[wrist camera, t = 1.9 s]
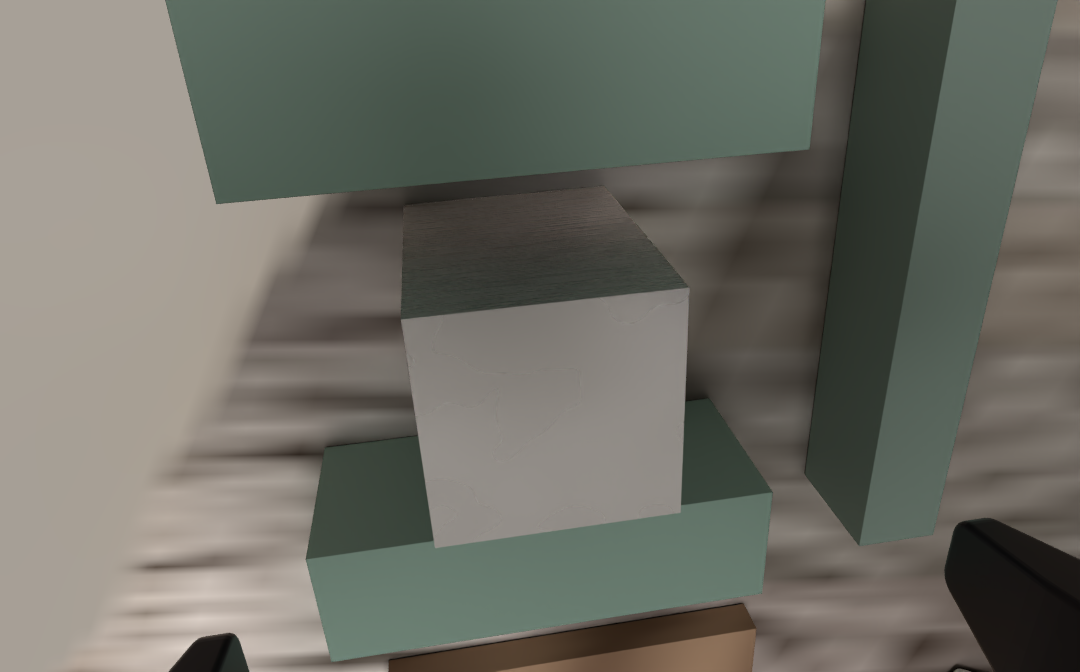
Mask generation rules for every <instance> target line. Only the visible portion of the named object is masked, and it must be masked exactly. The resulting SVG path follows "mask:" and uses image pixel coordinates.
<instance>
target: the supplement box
mask: <svg viewBox="0 0 1080 672" xmlns="http://www.w3.org/2000/svg"><path fill="white" fill-rule="evenodd" d="M954 672H971V671H967V670H964V669H956V670H955V671H954Z"/></svg>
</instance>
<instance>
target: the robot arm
mask: <svg viewBox="0 0 1080 672" xmlns="http://www.w3.org/2000/svg"><path fill="white" fill-rule="evenodd" d="M944 572H945V580H946V584H947V586H948V589H949V591H950V593H951V594H952V596H953V598H954V600H955V602H956V604H957V605H958V607H959V609H960V611H961V613H962V614H963V616H964V618H965V620H966V622H967V623H968V625H969V627H970V629H971V631H972V633H973V634H974V636H975V638H976V640H977V642H978V643H979V645H980V647H981V649H982V651H983V652H984V654H985V656H986V658H987V660H988V662H989V663H990V665H991V667H992V669H993V671H994V672H1080V559H1078V558H1076V557H1073V556H1071V555H1069V554H1067V553H1065V552H1063V551H1061V550H1059V549H1056V548H1054V547H1052V546H1050V545H1048V544H1046V543H1044V542H1042V541H1040V540H1037V539H1035V538H1033V537H1031V536H1029V535H1027V534H1025V533H1023V532H1020V531H1018V530H1016V529H1014V528H1012V527H1010V526H1008V525H1006V524H1003V523H1001V522H999V521H997V520H995V519H991V518H982V519H975V520H968V521H963V522H960V523H959V524H958V525H957V526H956V527H955V529H954V531H953V536H952V540H951V544H950V548H949V552H948V556H947V560H946V564H945V569H944ZM169 672H249V669H248V666H247V663H246V660H245V657H244V653H243V650H242V647H241V644H240V641H239V639H238V638H237V636H236V635H235V634H233V633H225V634H218V635H212V636H205V637H201V638H199V639H198V640H196V641H195V642H194V643H193V644H192V645H191V646H190V647H189V648H188V649H187V651H186V652H185V653H184V654H183V655H182V657H181V658H180V659H179V660H178V661H177V662H176V664H175V665H174V666H173V667H172V668H171V669H170V671H169Z"/></svg>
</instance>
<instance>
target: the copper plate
mask: <svg viewBox="0 0 1080 672" xmlns="http://www.w3.org/2000/svg"><path fill="white" fill-rule="evenodd" d="M755 637H756V627H755V625H754V623H753V621H752V619H751V617H750V615H749V613H748V611H747V609H746V607H745V605H744V604H739V605H733V606H726V607H720V608H714V609H708V610H701V611H695V612H689V613H683V614H676V615H670V616H664V617H658V618H651V619H645V620H639V621H633V622H627V623H620V624H614V625H608V626H602V627H595V628H589V629H583V630H577V631H570V632H564V633H558V634H552V635H545V636H539V637H533V638H527V639H520V640H514V641H508V642H502V643H495V644H489V645H483V646H477V647H471V648H464V649H458V650H452V651H446V652H439V653H433V654H427V655H421V656H414V657H408V658H402V659H396V660H389V672H752V666H753V656H754V647H755Z"/></svg>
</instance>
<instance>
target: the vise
mask: <svg viewBox="0 0 1080 672" xmlns="http://www.w3.org/2000/svg"><path fill="white" fill-rule="evenodd" d="M165 1H166V5H167V9H168V13H169V17H170V21H171V25H172V29H173V33H174V37H175V41H176V45H177V49H178V53H179V57H180V61H181V65H182V69H183V73H184V77H185V81H186V85H187V89H188V93H189V97H190V101H191V105H192V108H193V113H194V116H195V121H196V125H197V128H198V132H199V136H200V140H201V144H202V148H203V152H204V156H205V160H206V164H207V168H208V172H209V176H210V180H211V184H212V188H213V192H214V196H215V200H216V204H222V203H232V202H244V201H255V200H266V199H276V198H287V197H297V196H309V195H320V194H331V193H342V192H352V191H363V190H374V189H385V188H396V187H407V186H417V185H428V184H439V183H450V182H461V181H472V180H482V179H493V178H504V177H515V176H526V175H537V174H548V173H558V172H569V171H580V170H591V169H602V168H613V167H623V166H634V165H645V164H656V163H667V162H678V161H688V160H699V159H710V158H721V157H732V156H743V155H754V154H764V153H775V152H786V151H797V150H808V149H810V139H811V130H812V121H813V111H814V102H815V93H816V83H817V74H818V65H819V55H820V46H821V37H822V27H823V18H824V9H825V0H165ZM1057 1H1058V0H866V7H865V14H864V22H863V30H862V37H861V45H860V53H859V61H858V68H857V76H856V84H855V92H854V99H853V107H852V115H851V122H850V130H849V138H848V146H847V153H846V161H845V169H844V177H843V184H842V192H841V200H840V208H839V215H838V223H837V231H836V238H835V246H834V254H833V262H832V269H831V277H830V285H829V293H828V300H827V308H826V316H825V324H824V331H823V339H822V347H821V354H820V362H819V370H818V378H817V385H816V393H815V401H814V409H813V416H812V424H811V432H810V439H809V447H808V455H807V463H806V470H805V475H806V477H807V478H808V479H809V481H810V482H811V483H812V485H813V486H814V487H815V489H816V490H817V491H818V492H819V494H820V495H821V496H822V498H823V499H824V500H825V502H826V503H827V504H828V506H829V507H830V508H831V510H832V511H833V512H834V514H835V515H836V516H837V518H838V519H839V520H840V521H841V523H842V524H843V525H844V527H845V528H846V529H847V531H848V532H849V533H850V535H851V536H852V537H853V539H854V540H855V541H856V543H857V544H858V545H859V546H863V545H870V544H876V543H883V542H889V541H896V540H902V539H909V538H915V537H922V536H928V535H933V532H934V528H935V524H936V520H937V515H938V511H939V507H940V502H941V498H942V494H943V490H944V485H945V481H946V477H947V472H948V468H949V464H950V460H951V455H952V451H953V447H954V442H955V438H956V434H957V430H958V425H959V421H960V417H961V412H962V408H963V404H964V399H965V395H966V391H967V387H968V382H969V378H970V374H971V369H972V365H973V361H974V357H975V352H976V348H977V344H978V339H979V335H980V331H981V327H982V322H983V318H984V314H985V309H986V305H987V301H988V297H989V292H990V288H991V284H992V279H993V275H994V271H995V267H996V262H997V258H998V254H999V249H1000V245H1001V241H1002V237H1003V232H1004V228H1005V224H1006V219H1007V215H1008V211H1009V207H1010V202H1011V198H1012V194H1013V189H1014V185H1015V181H1016V177H1017V172H1018V168H1019V164H1020V159H1021V155H1022V151H1023V147H1024V142H1025V138H1026V134H1027V129H1028V125H1029V121H1030V117H1031V112H1032V108H1033V104H1034V99H1035V95H1036V91H1037V87H1038V82H1039V78H1040V74H1041V69H1042V65H1043V61H1044V57H1045V52H1046V48H1047V44H1048V39H1049V35H1050V31H1051V27H1052V22H1053V18H1054V14H1055V9H1056V5H1057ZM772 494H773V492H772V491H771V489H770V488H769V486H768V485H767V483H766V482H765V480H764V479H763V477H762V476H761V474H760V473H759V471H758V470H757V468H756V467H755V465H754V464H753V462H752V461H751V459H750V458H749V456H748V455H747V453H746V452H745V450H744V449H743V448H742V446H741V445H740V443H739V442H738V440H737V439H736V437H735V436H734V434H733V433H732V431H731V430H730V428H729V427H728V425H727V424H726V422H725V421H724V419H723V418H722V416H721V415H720V413H719V412H718V410H717V409H716V408H715V406H714V405H713V403H712V402H711V400H710V399H709V398H708V399H701V400H693V401H685V413H684V439H683V464H682V489H681V513H675V514H668V515H661V516H654V517H647V518H640V519H634V520H627V521H620V522H613V523H606V524H599V525H592V526H585V527H578V528H571V529H564V530H557V531H550V532H543V533H537V534H530V535H523V536H516V537H509V538H502V539H495V540H488V541H481V542H474V543H467V544H460V545H453V546H446V547H440V548H435V545H434V538H433V531H432V525H431V518H430V511H429V505H428V498H427V491H426V484H425V478H424V471H423V464H422V458H421V451H420V444H419V438H418V436H413V437H405V438H397V439H389V440H381V441H374V442H366V443H358V444H350V445H342V446H335V447H327V448H325V450H324V456H323V462H322V468H321V474H320V480H319V485H318V491H317V497H316V503H315V509H314V515H313V521H312V526H311V532H310V538H309V544H308V550H307V556H306V562H307V566H308V570H309V574H310V578H311V582H312V586H313V590H314V594H315V598H316V602H317V606H318V610H319V614H320V618H321V622H322V626H323V630H324V634H325V638H326V642H327V645H328V649H329V653H330V657H331V661H332V662H334V661H341V660H347V659H353V658H359V657H366V656H372V655H378V654H385V653H391V652H397V651H403V650H410V649H416V648H422V647H429V646H435V645H441V644H447V643H454V642H460V641H466V640H473V639H479V638H485V637H491V636H498V635H504V634H510V633H517V632H523V631H529V630H535V629H542V628H548V627H554V626H561V625H567V624H573V623H579V622H586V621H592V620H598V619H604V618H611V617H617V616H623V615H630V614H636V613H642V612H648V611H655V610H661V609H667V608H674V607H680V606H686V605H692V604H699V603H705V602H711V601H718V600H724V599H730V598H736V597H743V596H749V595H755V594H762V587H763V578H764V569H765V559H766V550H767V541H768V531H769V522H770V513H771V503H772Z"/></svg>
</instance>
